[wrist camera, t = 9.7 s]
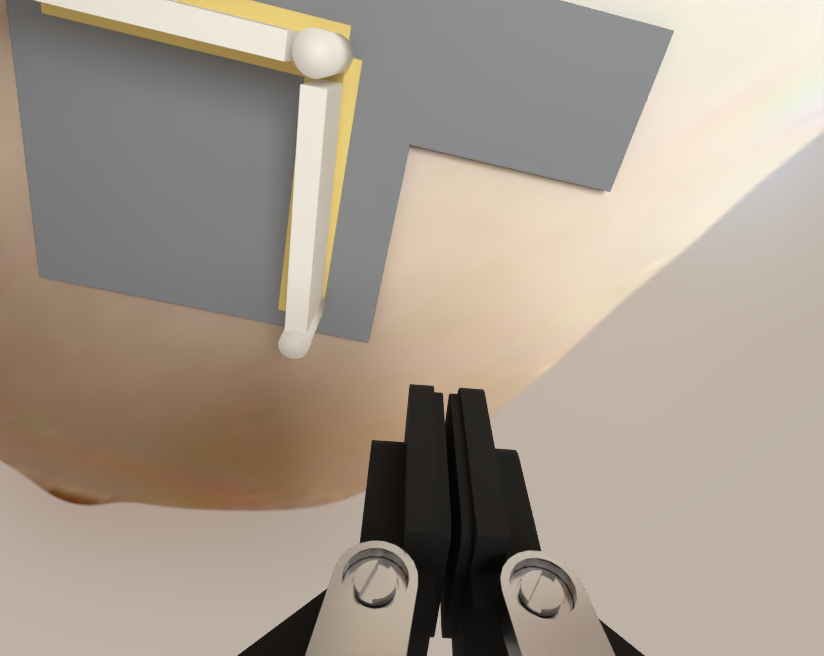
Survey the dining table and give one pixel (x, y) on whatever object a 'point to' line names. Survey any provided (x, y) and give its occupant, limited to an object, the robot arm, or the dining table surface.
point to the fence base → (295, 129)
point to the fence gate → (311, 212)
